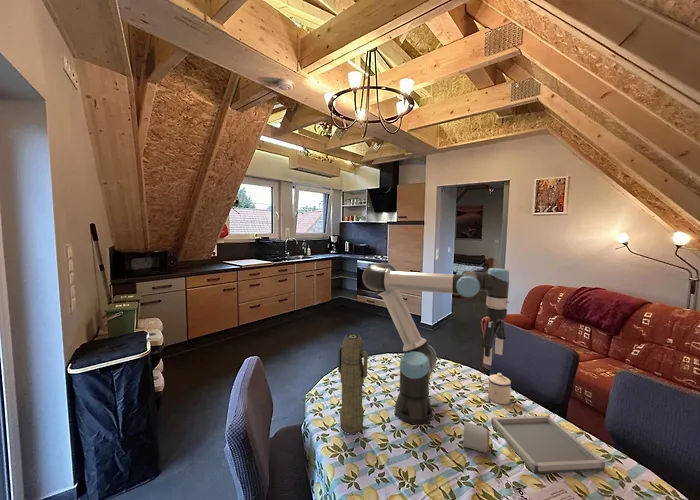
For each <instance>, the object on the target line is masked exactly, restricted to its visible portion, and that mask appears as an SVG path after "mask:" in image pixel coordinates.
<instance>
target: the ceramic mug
mask: <svg viewBox="0 0 700 500" xmlns="http://www.w3.org/2000/svg"><path fill="white" fill-rule="evenodd" d="M490 438H491V437H490V430H489V429H487V428H485V427H483V426H480V425H477V424H474V423H471V422H469V421H464V425H463V438H462V439H463V440H462V441H463V442H462V447H464V448H468V449H471V450H475V451H479V452H482V453H488V452H489V450H490V442H491V441H490Z"/></svg>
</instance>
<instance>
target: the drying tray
mask: <svg viewBox="0 0 700 500" xmlns="http://www.w3.org/2000/svg"><path fill="white" fill-rule="evenodd" d="M490 424H491V425H492V426H493V428H495V430H496V431H497V432H498V433H499V434H500V436H501V437H502V438H503V440H505V442H506V443H507V444H508V445H509V446H510V447H511V449H512V450H513V451H514V452H515V453H516V454H517V455H518V457H519V458H520V459H521V460H522V461H523V462H524V463H525V465H526V466H527V467H528V468H529V469H530V470H531V472H532V473H533V474H534V475H537V474H538V475H539V474H540V475H541V474H555V473H574V472H575V473H577V472H593V471H594V472H596V471H597V472H598V471H605V470H606V462H605V461H604V460H603V459H602V458H600V457H599V456H598V455H596V454H595V453H594V452H593V451H592V450H591V449H589V448H588V447H587V446H586V445H584V443H582V442H581V441H580V440H578V439H577V438H576V437H575V436H573V434H571V433H570V432H568V430H566V429H565V428H564V427H562V426H561V425H560V424H559V423H558V422H557V421H556V420H554V419H553V418H552V417H550V415H530V416H529V415H527V416H525V415H524V416H501V417H500V416H499V417H497V416H496V417H491V423H490Z"/></svg>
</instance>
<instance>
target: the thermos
mask: <svg viewBox="0 0 700 500" xmlns="http://www.w3.org/2000/svg"><path fill="white" fill-rule="evenodd" d="M363 347H364V346H363V340H362V337H361V336H360V335H358V334H354V333H350V334H346V335H345V336H344V338H343V342H342V345H341V346H339V348H337V370H338V371H337V372H338V373H339V375H340V384H341V408H340V409H339V421H340V427H341V428H340V430H341V429H342V430H343V431H344V432H346V433H349V434H348V435H355V434H354V433H357V434H359V433H358V432H360V431H361V430H362V431H363V429H364V416H365V415H364V411H365V410H364V406H363V385H364V384H365V383H364V382H365V379H366V378H367V377H368V363H369V362H368V359H369V354H368V352H367V351H366V350H364V349H363ZM342 430H341V431H342ZM343 431H342V432H343ZM362 431H361V432H362ZM344 432H343V433H344ZM361 432H360V433H361ZM346 433H345V434H346Z"/></svg>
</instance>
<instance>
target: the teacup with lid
mask: <svg viewBox="0 0 700 500" xmlns="http://www.w3.org/2000/svg"><path fill="white" fill-rule="evenodd" d="M487 378H488V381H483V382H482V383H481V386H480V387H481V390H482V391H483V392H484V393H485V394H487V396H488V399H489V400H490V401H492V402H493V403H495V404H499V405H508V404H510V402H511V385H512V380H510V379H509V378H508V377H506V376H504V375H503V374H502V373H501V372H497V374H490V375H489V376H488V377H487ZM485 385H488V390H485V388H484V386H485Z"/></svg>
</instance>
